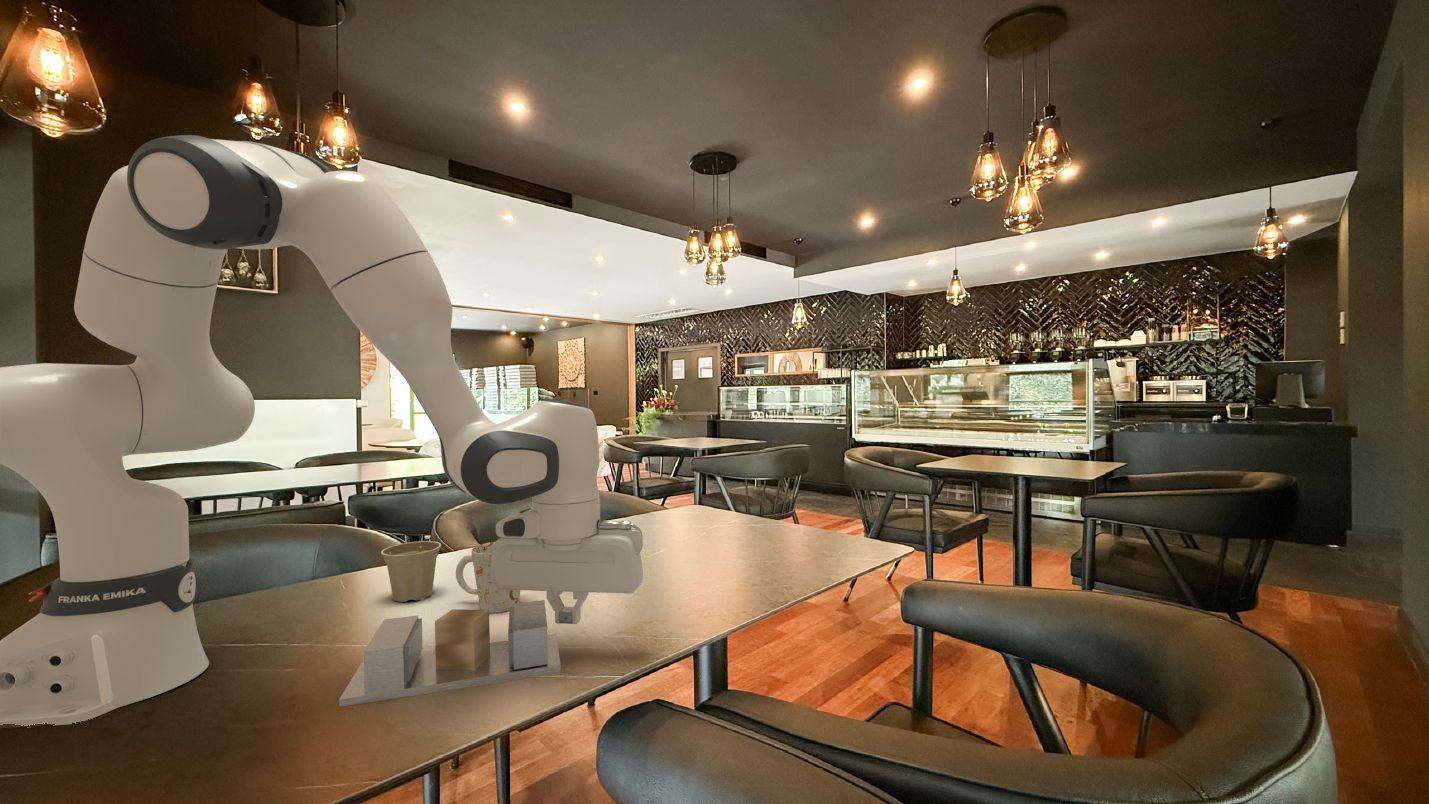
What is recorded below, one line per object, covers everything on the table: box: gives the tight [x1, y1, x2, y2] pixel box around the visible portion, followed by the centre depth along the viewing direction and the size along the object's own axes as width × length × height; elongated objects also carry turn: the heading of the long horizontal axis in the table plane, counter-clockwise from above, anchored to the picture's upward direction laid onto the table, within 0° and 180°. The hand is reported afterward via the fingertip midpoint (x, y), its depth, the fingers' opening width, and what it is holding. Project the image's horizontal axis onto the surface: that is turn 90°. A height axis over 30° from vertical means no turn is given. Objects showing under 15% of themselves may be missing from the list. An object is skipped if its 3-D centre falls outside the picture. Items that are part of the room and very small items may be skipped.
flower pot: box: [380, 540, 442, 603], centre depth 101 cm, size 9×9×9 cm
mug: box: [455, 541, 521, 614], centre depth 96 cm, size 8×13×10 cm, turn 78°
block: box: [434, 608, 491, 670], centre depth 73 cm, size 5×4×6 cm
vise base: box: [338, 615, 562, 707], centre depth 73 cm, size 24×10×6 cm, turn 108°
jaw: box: [507, 599, 548, 669], centre depth 75 cm, size 5×10×5 cm, turn 18°
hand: (568, 622), depth 77 cm, fingers closed
